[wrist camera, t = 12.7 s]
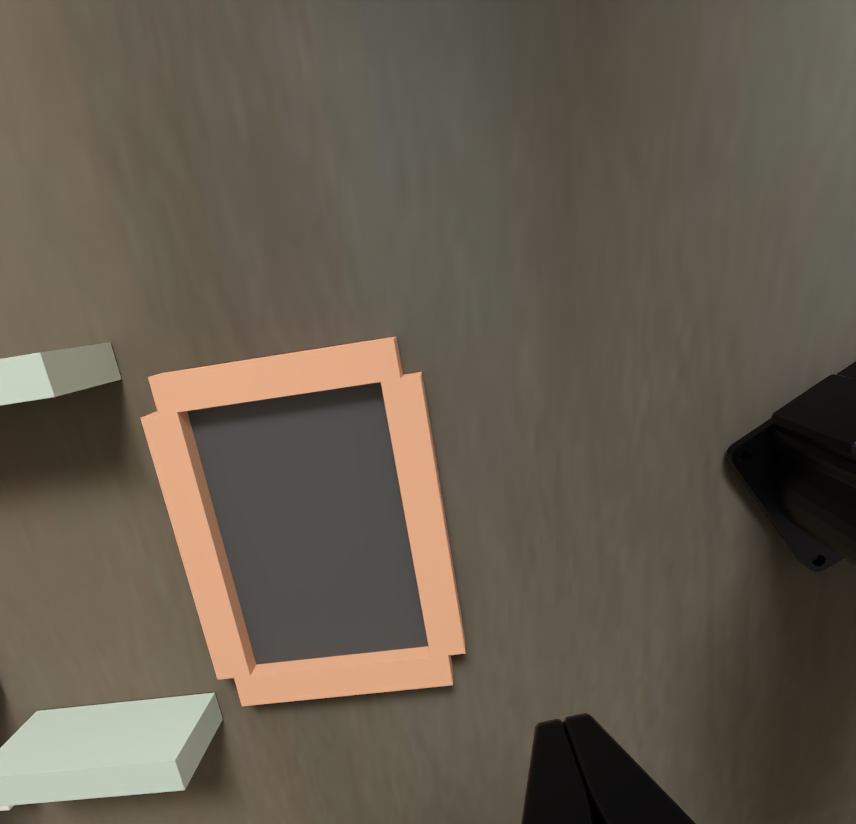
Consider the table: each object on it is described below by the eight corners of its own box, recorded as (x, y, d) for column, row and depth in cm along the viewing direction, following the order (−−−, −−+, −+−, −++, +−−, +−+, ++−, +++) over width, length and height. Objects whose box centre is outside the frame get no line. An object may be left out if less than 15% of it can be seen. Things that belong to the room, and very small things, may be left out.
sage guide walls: (110, 342, 20) (40, 352, 16) (222, 719, 24) (184, 790, 20) (-96, 375, 21) (-205, 392, 17) (46, 736, 25) (-19, 807, 21)
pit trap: (415, 333, 19) (413, 335, 18) (469, 666, 23) (470, 683, 22) (144, 376, 20) (129, 379, 19) (235, 690, 23) (225, 708, 22)
